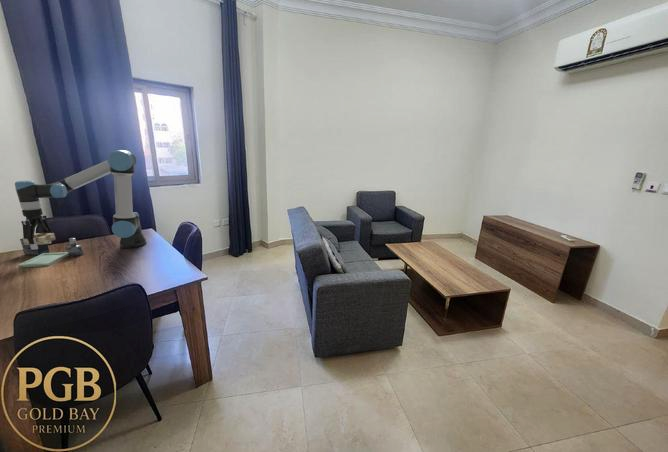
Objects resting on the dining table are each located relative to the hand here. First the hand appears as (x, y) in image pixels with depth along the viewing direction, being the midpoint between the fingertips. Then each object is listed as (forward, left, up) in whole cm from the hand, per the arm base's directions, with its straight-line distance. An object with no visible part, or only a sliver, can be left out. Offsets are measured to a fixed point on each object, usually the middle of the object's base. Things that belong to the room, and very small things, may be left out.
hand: (41, 246), depth 157 cm
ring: (0, 0, +3) cm, 3 cm away
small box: (+13, -13, -9) cm, 21 cm away
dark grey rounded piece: (-11, -7, -9) cm, 16 cm away
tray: (0, 0, -9) cm, 9 cm away
